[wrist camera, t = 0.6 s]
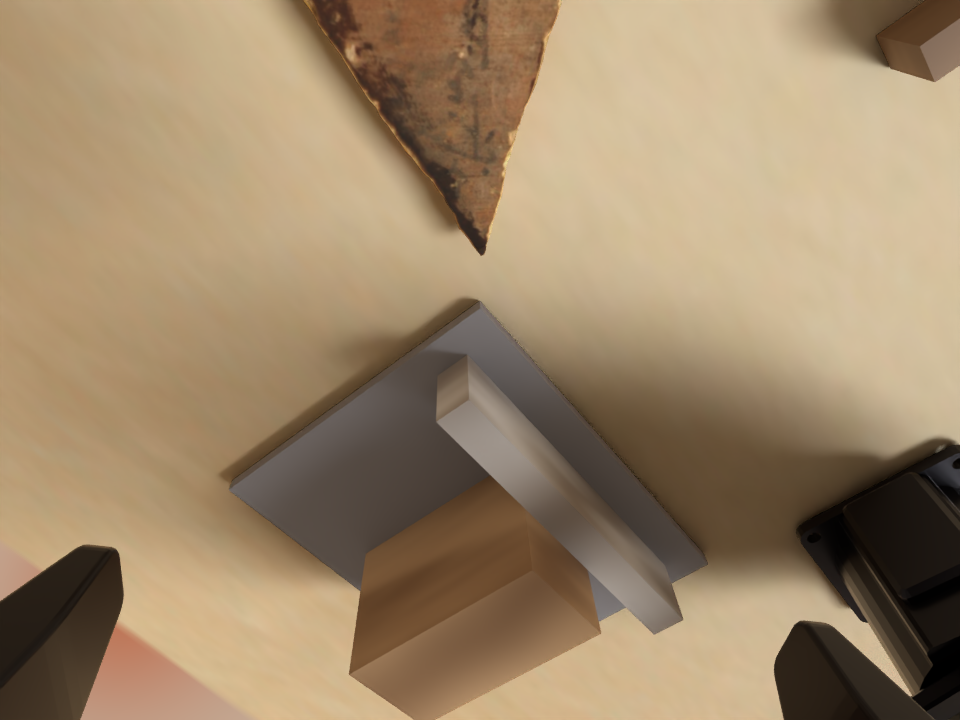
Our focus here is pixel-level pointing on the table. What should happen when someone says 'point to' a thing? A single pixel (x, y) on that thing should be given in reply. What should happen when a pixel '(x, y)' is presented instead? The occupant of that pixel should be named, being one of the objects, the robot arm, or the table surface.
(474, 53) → the shard
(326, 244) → the table surface
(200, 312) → the table surface
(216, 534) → the table surface
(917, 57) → the bar
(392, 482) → the rubber mat
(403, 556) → the wood and metal bracket
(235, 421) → the table surface
